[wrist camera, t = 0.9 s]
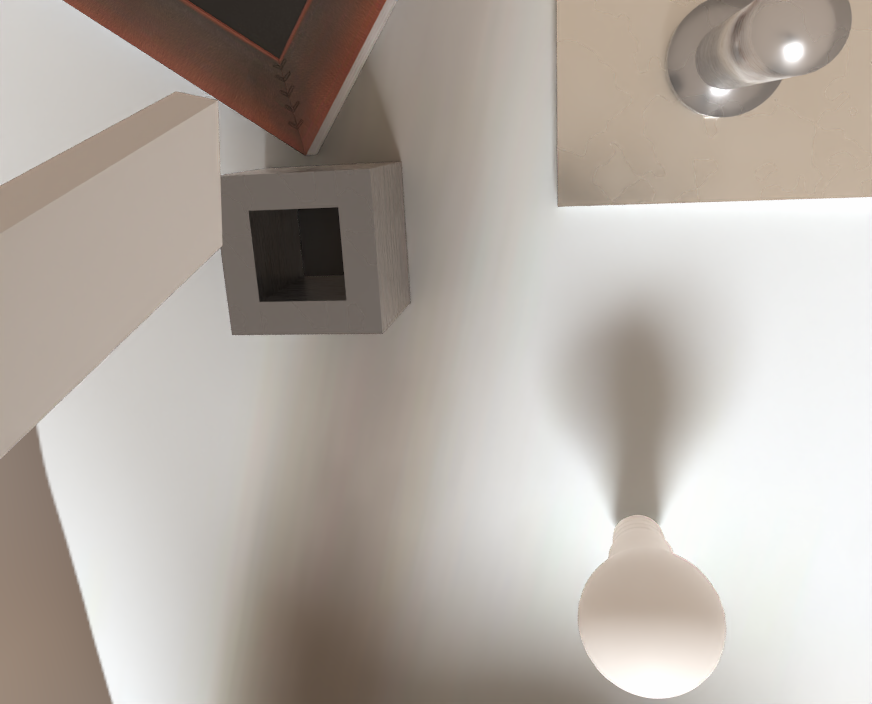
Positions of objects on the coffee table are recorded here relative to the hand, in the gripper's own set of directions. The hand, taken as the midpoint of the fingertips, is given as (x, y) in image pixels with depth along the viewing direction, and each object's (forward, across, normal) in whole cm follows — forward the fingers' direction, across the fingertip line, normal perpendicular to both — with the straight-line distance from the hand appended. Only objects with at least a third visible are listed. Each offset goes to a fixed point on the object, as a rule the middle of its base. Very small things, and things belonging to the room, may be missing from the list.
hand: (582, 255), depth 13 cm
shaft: (+25, -5, +2) cm, 26 cm away
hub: (+22, +11, +12) cm, 27 cm away
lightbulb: (+19, -7, +24) cm, 31 cm away
